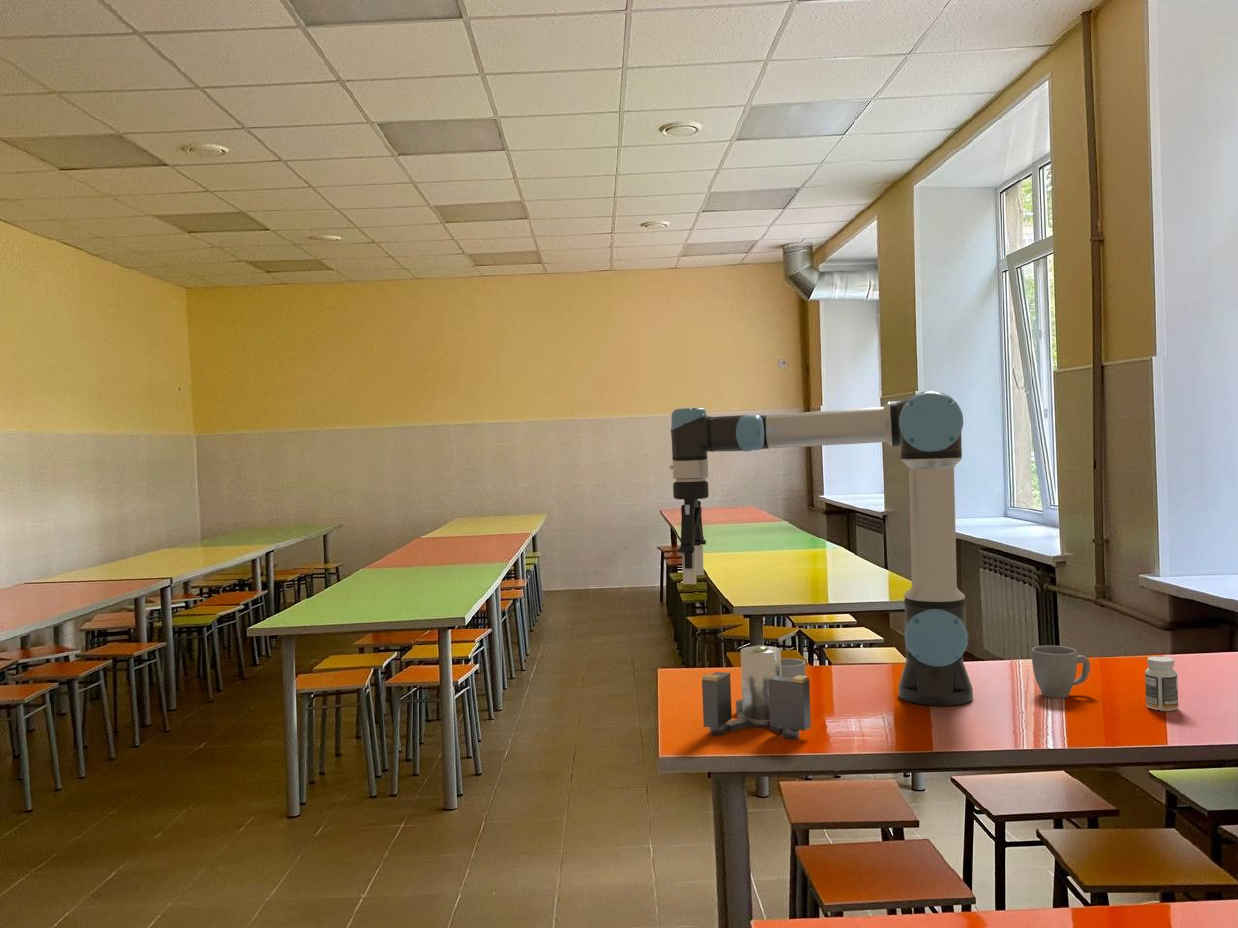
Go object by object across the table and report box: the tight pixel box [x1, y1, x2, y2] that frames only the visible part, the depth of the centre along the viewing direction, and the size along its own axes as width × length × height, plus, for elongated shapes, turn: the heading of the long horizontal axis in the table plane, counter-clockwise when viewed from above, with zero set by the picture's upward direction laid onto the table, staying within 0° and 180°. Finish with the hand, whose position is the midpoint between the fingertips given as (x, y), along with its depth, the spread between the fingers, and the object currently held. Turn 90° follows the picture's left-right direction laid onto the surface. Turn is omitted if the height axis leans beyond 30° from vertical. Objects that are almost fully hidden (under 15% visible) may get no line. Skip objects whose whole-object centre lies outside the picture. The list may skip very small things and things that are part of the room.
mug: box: [1031, 645, 1091, 699], centre depth 210 cm, size 12×9×10 cm
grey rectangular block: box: [768, 675, 812, 740], centre depth 187 cm, size 7×3×12 cm, turn 57°
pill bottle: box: [1144, 656, 1179, 712], centre depth 197 cm, size 6×6×10 cm
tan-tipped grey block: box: [701, 671, 733, 736], centre depth 191 cm, size 7×3×12 cm, turn 152°
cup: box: [781, 658, 806, 678], centre depth 210 cm, size 7×10×9 cm
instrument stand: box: [726, 645, 782, 735], centre depth 198 cm, size 13×16×15 cm
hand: (693, 579), depth 212 cm, fingers open, 13 cm apart
